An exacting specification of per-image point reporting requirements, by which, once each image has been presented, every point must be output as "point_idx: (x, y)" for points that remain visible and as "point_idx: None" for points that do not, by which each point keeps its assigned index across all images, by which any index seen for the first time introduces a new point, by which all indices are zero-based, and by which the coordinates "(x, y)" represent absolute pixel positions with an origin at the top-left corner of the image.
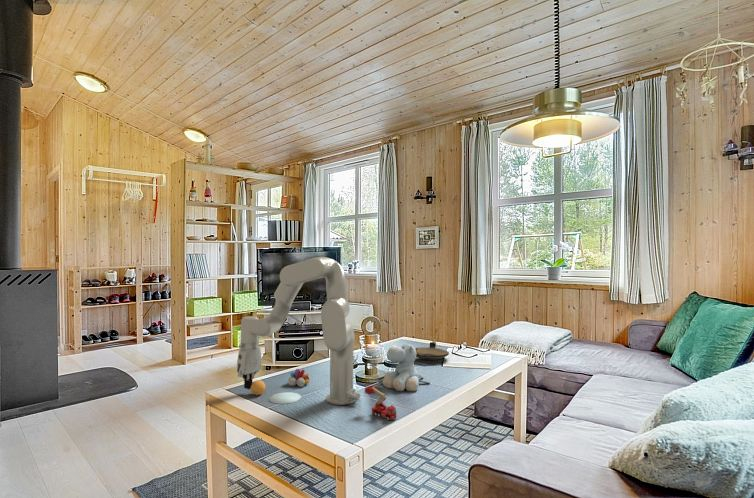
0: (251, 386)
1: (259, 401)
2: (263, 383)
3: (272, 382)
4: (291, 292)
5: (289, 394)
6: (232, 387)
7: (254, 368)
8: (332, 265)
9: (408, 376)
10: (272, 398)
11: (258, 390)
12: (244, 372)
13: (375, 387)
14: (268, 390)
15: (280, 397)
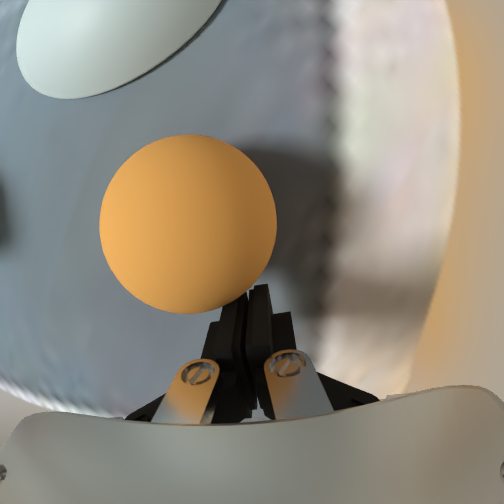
0: (270, 253)
1: (295, 40)
2: (121, 177)
3: (40, 340)
4: None
5: (47, 34)
6: None
7: (154, 498)
8: None
9: None
10: (176, 14)
11: (229, 144)
12: (502, 404)
13: None
14: (91, 233)
15: (121, 4)
